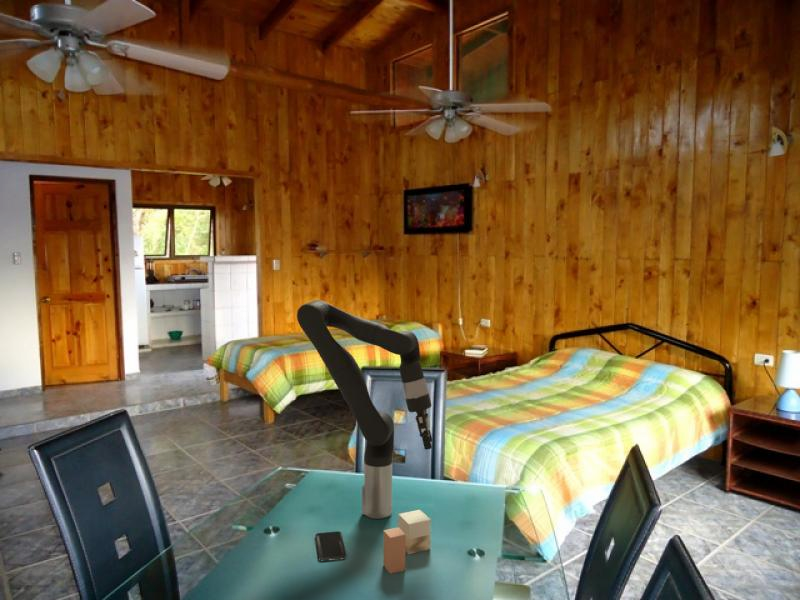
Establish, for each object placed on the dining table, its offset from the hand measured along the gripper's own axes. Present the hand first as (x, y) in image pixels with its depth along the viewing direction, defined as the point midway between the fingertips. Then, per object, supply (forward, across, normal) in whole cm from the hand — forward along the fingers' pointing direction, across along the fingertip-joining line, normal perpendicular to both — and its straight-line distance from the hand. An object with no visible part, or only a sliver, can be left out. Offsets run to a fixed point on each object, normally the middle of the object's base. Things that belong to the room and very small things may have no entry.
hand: (428, 445), depth 178 cm
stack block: (+25, +22, -15) cm, 37 cm away
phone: (+20, +13, -34) cm, 41 cm away
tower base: (+26, +10, -10) cm, 29 cm away
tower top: (+21, +10, -9) cm, 25 cm away
